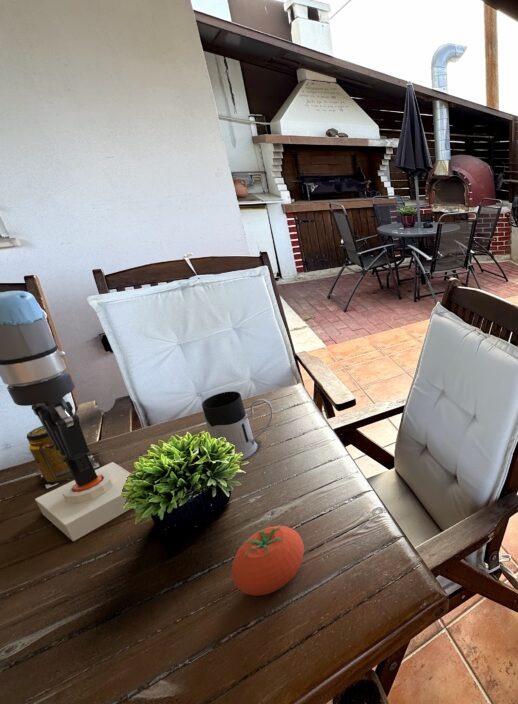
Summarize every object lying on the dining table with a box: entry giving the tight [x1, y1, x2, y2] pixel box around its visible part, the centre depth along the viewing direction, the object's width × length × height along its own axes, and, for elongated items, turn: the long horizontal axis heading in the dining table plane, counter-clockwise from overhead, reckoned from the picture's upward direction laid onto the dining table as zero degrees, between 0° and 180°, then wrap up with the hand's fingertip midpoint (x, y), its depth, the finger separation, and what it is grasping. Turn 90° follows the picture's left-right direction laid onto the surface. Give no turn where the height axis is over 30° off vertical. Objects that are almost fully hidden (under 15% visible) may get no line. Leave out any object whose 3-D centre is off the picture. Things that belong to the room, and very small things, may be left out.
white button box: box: [34, 461, 132, 542], centre depth 81 cm, size 14×12×6 cm
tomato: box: [231, 525, 305, 597], centre depth 66 cm, size 10×10×10 cm
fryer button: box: [73, 475, 103, 492], centre depth 80 cm, size 4×4×2 cm
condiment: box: [26, 425, 100, 489], centre depth 89 cm, size 7×8×12 cm
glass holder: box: [201, 390, 274, 461], centre depth 96 cm, size 9×14×15 cm, turn 105°
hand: (87, 480), depth 80 cm, fingers closed
